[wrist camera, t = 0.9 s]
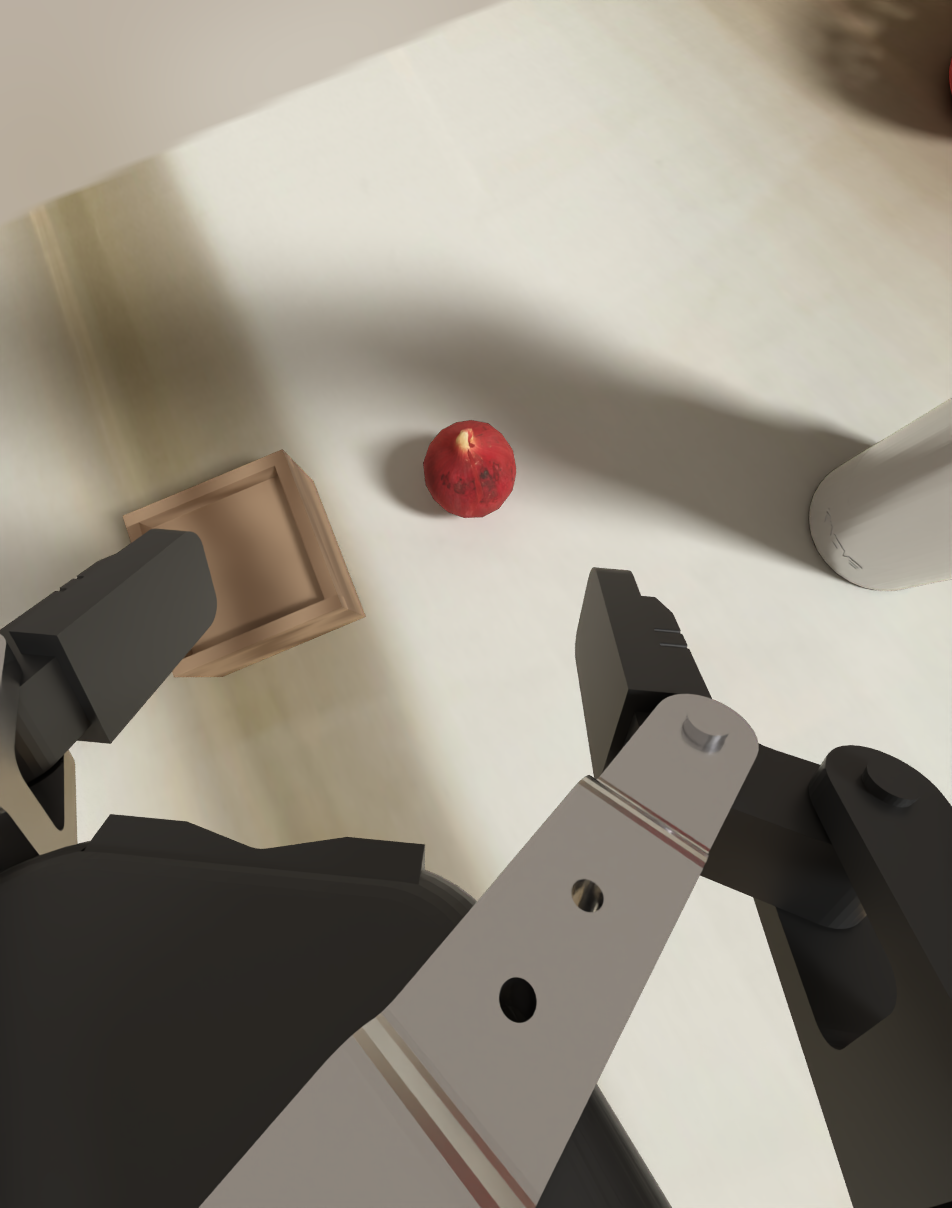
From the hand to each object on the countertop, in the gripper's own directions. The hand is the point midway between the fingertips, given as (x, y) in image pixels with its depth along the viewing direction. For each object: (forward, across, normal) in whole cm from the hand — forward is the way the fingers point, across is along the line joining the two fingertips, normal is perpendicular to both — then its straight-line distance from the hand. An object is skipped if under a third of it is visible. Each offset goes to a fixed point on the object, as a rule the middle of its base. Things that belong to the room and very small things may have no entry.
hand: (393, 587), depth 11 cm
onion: (+25, 0, +8) cm, 26 cm away
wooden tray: (+21, +13, +13) cm, 28 cm away
